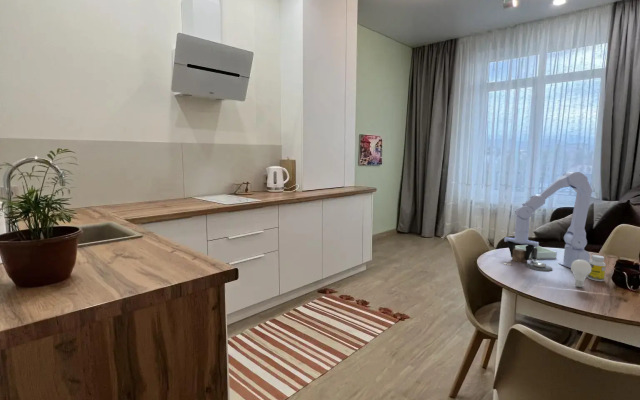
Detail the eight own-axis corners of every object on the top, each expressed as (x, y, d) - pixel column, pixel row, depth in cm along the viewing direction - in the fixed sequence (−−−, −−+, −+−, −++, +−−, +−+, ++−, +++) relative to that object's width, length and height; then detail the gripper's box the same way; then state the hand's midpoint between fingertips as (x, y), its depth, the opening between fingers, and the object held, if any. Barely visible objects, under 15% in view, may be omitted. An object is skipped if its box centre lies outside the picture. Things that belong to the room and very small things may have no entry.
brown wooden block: (526, 262, 165) (527, 250, 164) (520, 263, 163) (521, 251, 163) (518, 260, 169) (519, 248, 168) (511, 260, 168) (512, 248, 167)
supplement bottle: (584, 277, 144) (586, 255, 142) (592, 276, 146) (594, 254, 145) (599, 282, 139) (601, 258, 138) (606, 280, 141) (609, 257, 140)
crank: (547, 268, 154) (548, 254, 153) (534, 267, 155) (535, 253, 155) (538, 260, 167) (539, 247, 166) (527, 259, 168) (528, 246, 168)
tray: (556, 259, 172) (556, 252, 171) (530, 259, 170) (530, 252, 170) (535, 251, 185) (536, 245, 185) (511, 252, 184) (512, 245, 183)
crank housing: (548, 265, 160) (548, 264, 160) (555, 272, 151) (555, 271, 151) (501, 261, 166) (501, 260, 166) (505, 267, 157) (505, 266, 157)
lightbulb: (567, 287, 132) (570, 259, 131) (570, 283, 137) (572, 256, 136) (588, 291, 128) (591, 263, 127) (590, 287, 133) (593, 259, 132)
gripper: (541, 232, 162) (539, 260, 163) (508, 227, 173) (506, 253, 174) (536, 234, 157) (534, 262, 159) (503, 229, 168) (501, 256, 169)
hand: (519, 258), depth 166 cm, fingers closed on brown wooden block, 6 cm apart
